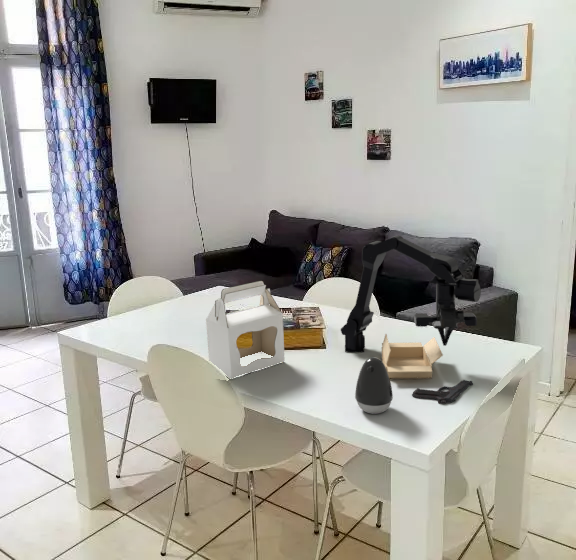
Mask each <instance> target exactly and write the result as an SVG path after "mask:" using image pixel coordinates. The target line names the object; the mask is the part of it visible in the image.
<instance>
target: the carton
mask: <svg viewBox="0 0 576 560" xmlns="http://www.w3.org/2000/svg"><path fill="white" fill-rule="evenodd" d="M382 345H383V342H382V343H381V346H382ZM389 346H390V350H391V352H390V356H389V359H388V363H387V364H386V362H385V357H384V353H383V348H382V347H381V361H382V362H383V364H384V365H385V367H386V369H387V372H388V375H389V378H390V380H391V379H392V380H395V379H396V380H397V379H398V380H401V379H402V380H405V379H407V380H408V379H413V380H415V379H417V380H418V379H419V380H422V379H424V380H428V379H432V378H433V366H432V365H433V364H431V362H430V360H429V357H428V355H427V353H426V350H425V348H424V345H423V344H422V342H389Z"/></svg>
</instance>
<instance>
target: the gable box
mask: <svg viewBox="0 0 576 560" xmlns="http://www.w3.org/2000/svg"><path fill="white" fill-rule="evenodd" d="M266 287H267V285H266V284H264V281H262V280H258V281H253V282H250V283H243V284H240V285H235V286H231V287H227V288H223V289H222V290H221V293H220V297H219V298H217V299H216V300H215V301H214V303H213V306H212V308H211V310H210V311H209V313H208V315H207V317H206V319H205V321H206V322H205V324H206V325H205V326H206V335H207V337H206V339H207V340H206V341H207V350H208V351H207V353H208V362H209V361H211V362H212V363H213V364H214V365H216V366H217V367H218V368H219V369H221V370H222V371H223V372H224V373H225V374H226V375H227V376H228V377H229V378H231V379H232V378H234V377H236V376H239V375H242V374H245V373H249V372H252V371H255V370H258V369H262V368H265V367H268V366H271V365H274V364H277V363H280V362H284V361H285V358H286V357H285V342H284V341H285V339H284V315H283V312H282V309H281V308H280V307H279V305H278V304H277V302H276V300H275V299H274V297H273V296H272V293H271V288H269V287H268V288H266ZM257 296H260V297H259V298H260V299H259V305H257V306H253V307H249V308H245V309H241V310H237V311H234V312H233V311H232V312H229V313H227V311H226V306H225V305H226V304H229V303H231V302H236V301H239V300H243V299H248V298H253V297H257ZM250 332H251V333H252V334H251V340H252V345H251V346H250V347H249V348H238V345H237V339H238V338H239V337H240V336H241V335H242V334H246V333H250ZM261 351H262V352H264V353H266V354H268V355H271V356H273V357H271V358H261V359H257V360H255V361H253V362H251V363H250V364H248V365H247V366H241V364H240V358H242V357H245V356H248V355H252V354H255V353H258V352H261ZM284 363H285V362H284ZM229 378H228V379H229ZM231 379H230V380H231Z"/></svg>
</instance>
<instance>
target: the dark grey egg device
mask: <svg viewBox="0 0 576 560" xmlns="http://www.w3.org/2000/svg"><path fill="white" fill-rule="evenodd" d="M358 373H359V374H358V378H357V379H356V380H357V381H356V385H355V393H354V395H355V396H354V398H355V401H356V402H357V405H358V407H359V408H360V409H361V410H362V411H364V412H365V413H367V414H371V415H375V414H376V415H377V414H382V413H384V412H385V411H387V410H388V409H389V408H390V406H391V403H392V401H393V397H394V396H393V395H394V394H393V387H392V382H391V379H390V378H389V375H388V372H387V369H386V367H385V365H384V364H383V362H382V359H380V358H379V357H375V356H374V357H369V358H367V359H366V360H365V361H364V362H363V364H362V366H361V367H360V370H359V372H358Z"/></svg>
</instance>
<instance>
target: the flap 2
mask: <svg viewBox="0 0 576 560" xmlns="http://www.w3.org/2000/svg"><path fill="white" fill-rule="evenodd" d="M423 346H424V348H425V351H426V353H427V356H428V358H429V360H430V363H431V365H433V364H434V363H435V362H437V361H439V359H440V358H442V357H443V356H444V354H443V351H442V350H441V348H440V346H439V344H438V341H437V340H436V337H432V338H431V339H430V340H428V342H426V343H425V344H424V345H423Z"/></svg>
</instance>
